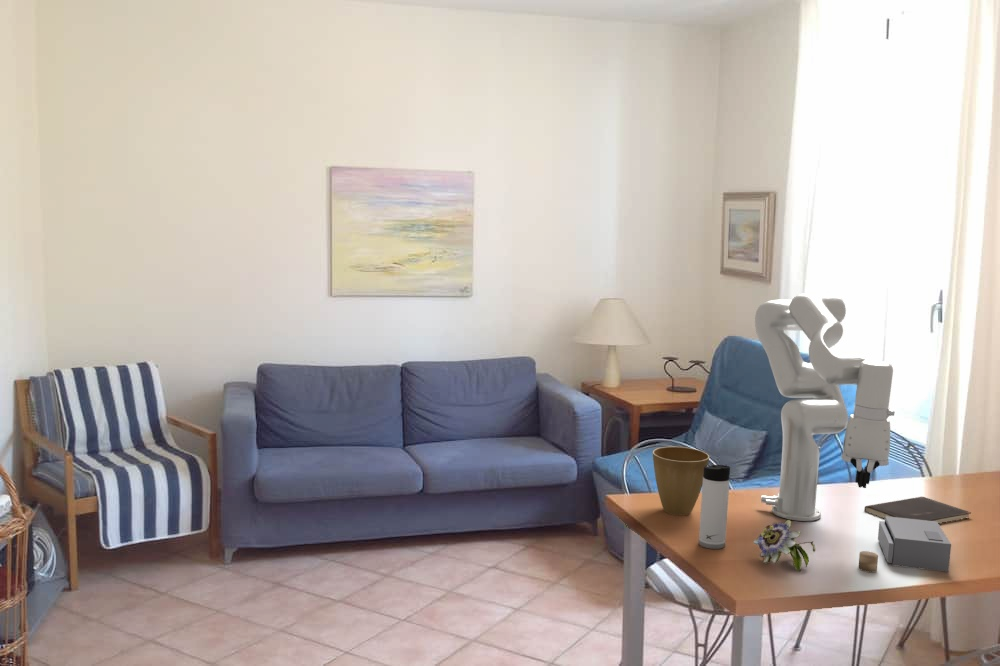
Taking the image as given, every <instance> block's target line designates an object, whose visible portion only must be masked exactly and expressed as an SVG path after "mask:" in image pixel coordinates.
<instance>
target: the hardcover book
mask: <svg viewBox="0 0 1000 666" xmlns="http://www.w3.org/2000/svg"><path fill="white" fill-rule="evenodd" d="M864 511H865V513H868V512H869V513H868V514H871V513H872V514H871V515H874V516H876V515H877V517H880V518H882V519H885V516H889V517H898V518H908V519H918V520H927V521H937V522H938V523H940V524H943V523H942V522H946V523H948V522H947V521H951V522H953V521H952V520H956V521H958V520H957V519H961V518H966V517H969V518H970V514H972V512H971V511H968V510H965V509H962V508H959V507H955V506H952V505H950V504H946V503H944V502H942V501H941V502H940V501H938V500H933V499H931V498H928V497H925V496H918V497H911V498H904V499H900V500H899V499H897V500H893V501H888V502H881V503H876V504H870V505H865V506H864ZM961 520H962V519H961Z"/></svg>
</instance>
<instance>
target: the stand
mask: <svg viewBox="0 0 1000 666" xmlns="http://www.w3.org/2000/svg"><path fill="white" fill-rule="evenodd" d="M878 563H879V554H877V553H876V552H873V551H869V550H865V551H864V550H863V551H862V550H861V551H859V556H858V566H857V568H858V569H859V570H860V571H863V572H867V573H875V572H878V571H877V570H878Z"/></svg>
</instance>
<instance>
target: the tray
mask: <svg viewBox="0 0 1000 666" xmlns="http://www.w3.org/2000/svg"><path fill="white" fill-rule="evenodd" d="M884 522H885V520H884V521H883V520H879V523H878V533H877V541H878V543H879V545H880V548H881V550H882V553H883V555H884V556H885V560H886V562H887V563H888V564H889V563H891V564H892V559H893V549H894V548H893V547H894V543H893V539H894V538H893V536H892V535H890V534H889V532H888V530H887V528H886V525H885V523H884Z"/></svg>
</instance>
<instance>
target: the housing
mask: <svg viewBox="0 0 1000 666" xmlns="http://www.w3.org/2000/svg"><path fill="white" fill-rule="evenodd" d="M884 523H885V525H886V528H887V530H888V532H889V534H890V535H892V536H893V538H894V549H893V559H892V563H891V565H892V566H893V567H895V566H896V567H903V568H913V569H921V570H929V571H937V572H938V571H939V572H946V573H947V572H948V573H949V570H950V569H949V568H950V560H951V559H950V558H951V551H952V543H951V542H950V540H949V538H948V537H947V535H946V534H945V532H944V531H943V529H942V527H941V525H940V524H938V522H937V521H927V520H918V519H908V518H898V517H889V516H885V518H884Z"/></svg>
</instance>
